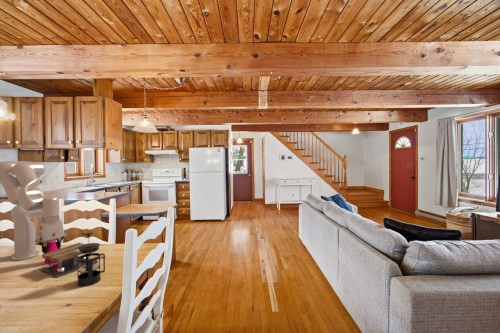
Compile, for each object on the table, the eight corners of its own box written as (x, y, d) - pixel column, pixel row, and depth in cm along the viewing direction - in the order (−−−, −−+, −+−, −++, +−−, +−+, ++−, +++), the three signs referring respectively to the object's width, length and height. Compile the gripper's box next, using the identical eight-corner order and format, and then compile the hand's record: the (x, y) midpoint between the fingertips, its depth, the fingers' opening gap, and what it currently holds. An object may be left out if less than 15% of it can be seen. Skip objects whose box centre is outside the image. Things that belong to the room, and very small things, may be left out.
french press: (76, 289, 108) (75, 237, 108) (74, 281, 115) (73, 233, 115) (106, 280, 116) (106, 232, 115) (102, 273, 123) (102, 228, 122)
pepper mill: (50, 265, 133) (49, 229, 132) (39, 264, 134) (39, 228, 134) (62, 260, 140) (62, 225, 139) (52, 259, 141) (52, 225, 141)
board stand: (39, 271, 125) (39, 259, 125) (80, 257, 143) (80, 246, 143) (57, 277, 118) (56, 264, 118) (97, 262, 137) (97, 251, 136)
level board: (42, 257, 126) (42, 252, 126) (79, 245, 142) (78, 241, 142) (58, 262, 119) (58, 257, 119) (95, 249, 136) (95, 244, 136)
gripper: (35, 223, 127) (36, 257, 127) (71, 216, 143) (72, 247, 143) (28, 221, 130) (29, 255, 131) (64, 215, 146) (64, 245, 146)
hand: (51, 250), depth 137 cm, fingers open, 5 cm apart
